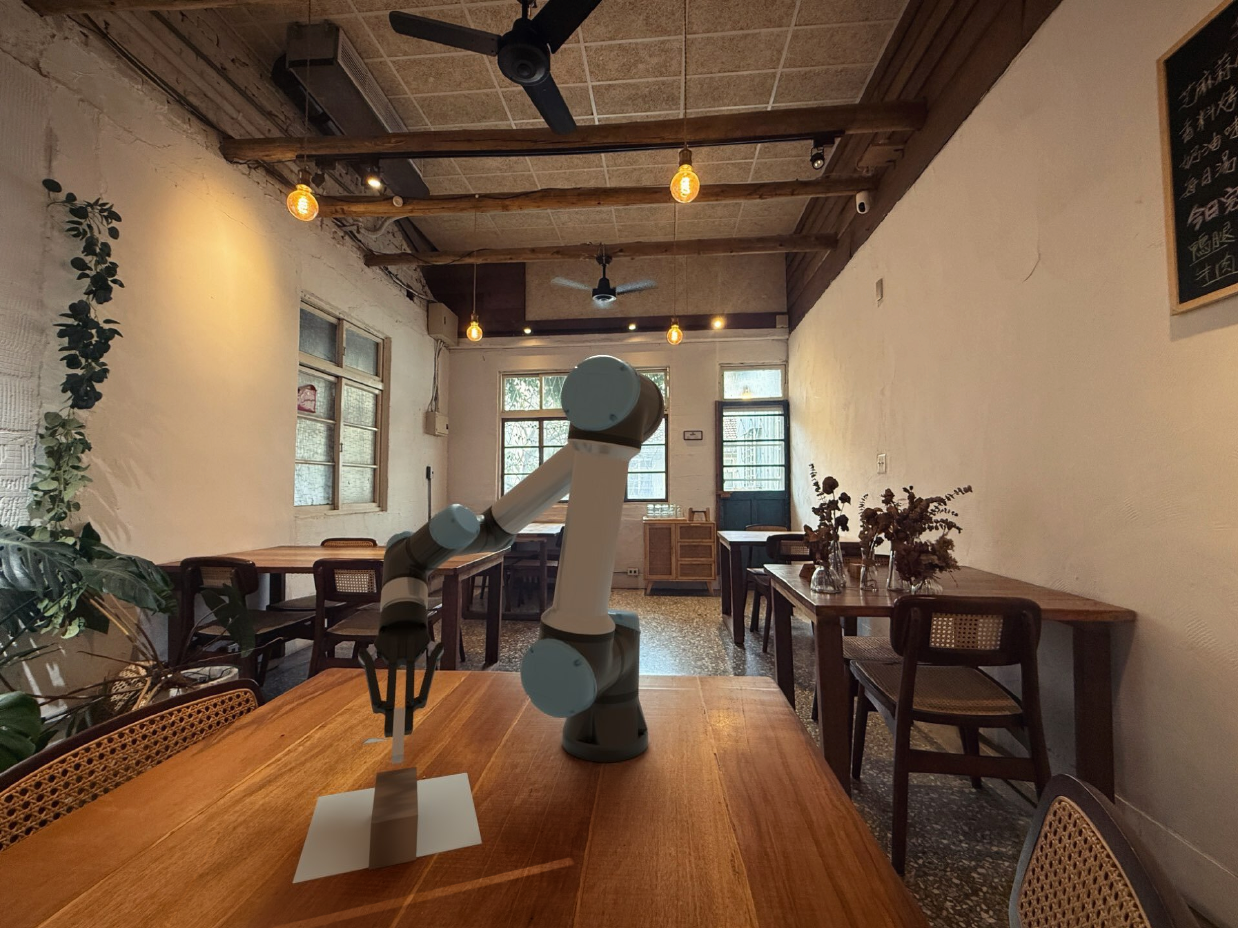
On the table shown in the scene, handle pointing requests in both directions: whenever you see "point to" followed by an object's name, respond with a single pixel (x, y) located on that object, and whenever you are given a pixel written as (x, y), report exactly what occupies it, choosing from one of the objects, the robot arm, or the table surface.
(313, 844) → the mat
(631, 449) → the robot arm
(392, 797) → the walnut block
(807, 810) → the table surface
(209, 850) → the table surface
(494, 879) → the table surface
